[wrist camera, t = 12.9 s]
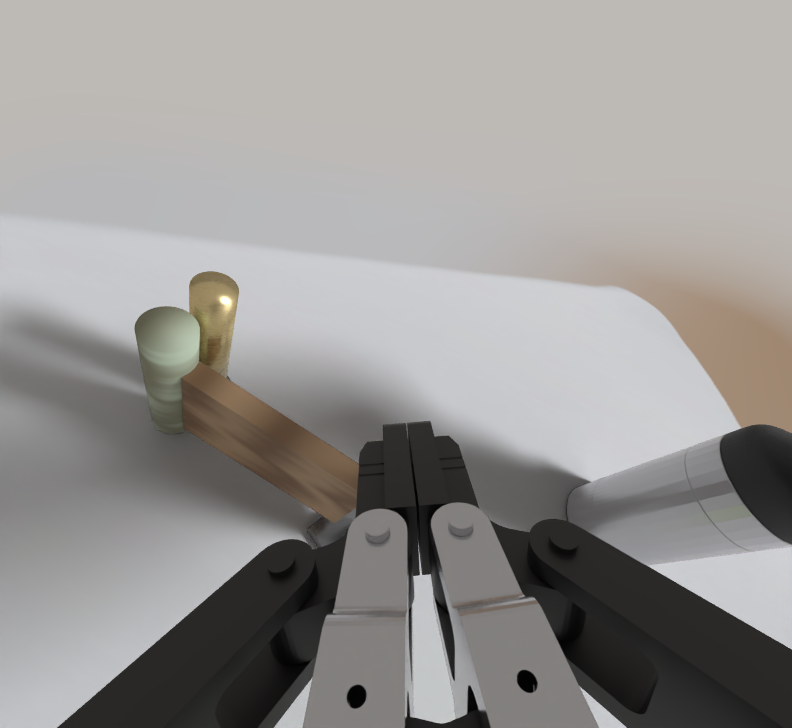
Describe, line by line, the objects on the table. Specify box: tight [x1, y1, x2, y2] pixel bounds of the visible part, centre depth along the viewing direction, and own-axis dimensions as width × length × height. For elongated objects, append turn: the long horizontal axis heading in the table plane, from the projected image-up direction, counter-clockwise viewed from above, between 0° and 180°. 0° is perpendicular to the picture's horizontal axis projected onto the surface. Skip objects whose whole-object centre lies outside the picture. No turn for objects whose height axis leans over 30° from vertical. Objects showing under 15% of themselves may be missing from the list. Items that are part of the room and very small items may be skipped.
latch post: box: [189, 272, 239, 381], centre depth 29 cm, size 4×4×14 cm
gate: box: [135, 306, 359, 523], centre depth 27 cm, size 17×3×12 cm, turn 64°
